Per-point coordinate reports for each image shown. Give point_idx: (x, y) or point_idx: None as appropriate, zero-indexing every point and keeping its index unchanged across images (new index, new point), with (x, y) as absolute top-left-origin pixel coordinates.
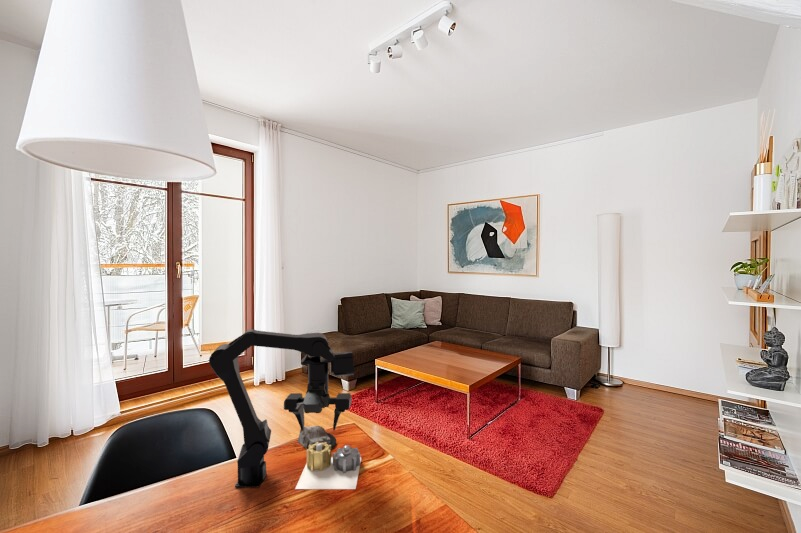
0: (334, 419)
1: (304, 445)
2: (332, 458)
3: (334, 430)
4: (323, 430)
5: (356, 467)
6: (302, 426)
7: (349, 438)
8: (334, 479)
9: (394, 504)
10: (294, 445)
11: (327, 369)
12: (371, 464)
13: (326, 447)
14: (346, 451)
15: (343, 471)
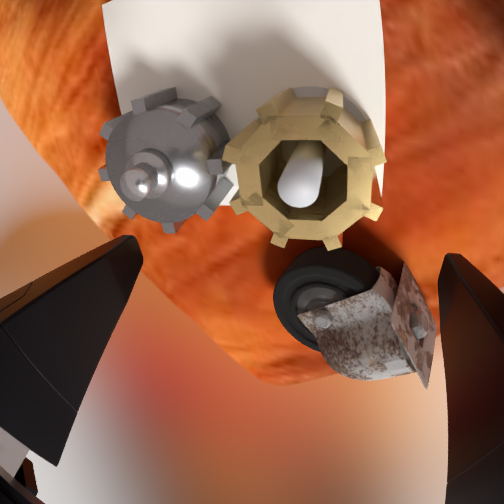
0: (38, 294)
1: (411, 293)
2: None
3: (125, 235)
4: (329, 356)
5: None
6: (465, 278)
7: (248, 332)
8: (197, 33)
9: (24, 15)
10: None
11: None
12: None
13: (252, 183)
14: (138, 164)
15: (170, 88)
